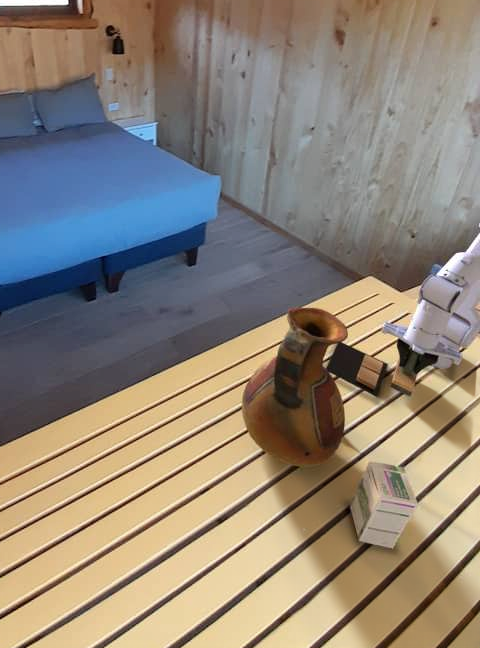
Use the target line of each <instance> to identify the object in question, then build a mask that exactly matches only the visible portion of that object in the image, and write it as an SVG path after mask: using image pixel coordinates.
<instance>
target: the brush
mask: <svg viewBox="0 0 480 648" xmlns="http://www.w3.org/2000/svg"><path fill="white" fill-rule="evenodd" d="M412 348H413V347H412V346H410V349H409V352H408V354H407V356H406V358H405V361H404V364H403V367H400V366H399V362H400V357H398V360H397V362H396V365H395V369H394V372H393V374H392V379H391V381H390V386H389V387H390V388H392V389H393V390H394V391H397V392H399V393H401V394H404V395H406V396H407V397H410V398H411V396H412V395H413V392H414V390H415V387H416V382H417V377H418V374H415V373H414V370H415V368H416V366H417V364H418V362H419V360H420V358H421V356H422V354H420V353H418V352H415V351H414V350H413V349H412Z"/></svg>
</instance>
